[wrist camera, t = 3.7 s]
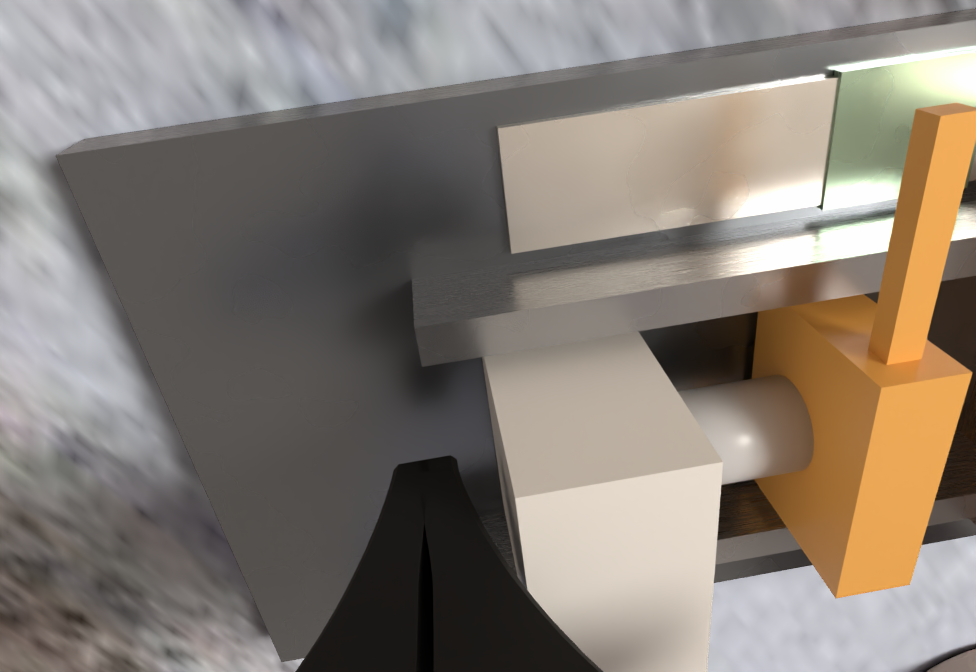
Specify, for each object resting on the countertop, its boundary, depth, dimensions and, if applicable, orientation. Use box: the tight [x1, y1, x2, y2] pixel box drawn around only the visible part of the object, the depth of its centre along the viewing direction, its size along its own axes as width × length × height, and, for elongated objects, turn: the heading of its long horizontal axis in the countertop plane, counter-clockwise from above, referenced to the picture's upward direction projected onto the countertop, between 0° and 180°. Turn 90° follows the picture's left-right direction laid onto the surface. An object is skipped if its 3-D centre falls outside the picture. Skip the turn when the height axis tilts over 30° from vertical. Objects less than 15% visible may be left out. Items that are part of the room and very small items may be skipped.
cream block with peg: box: [482, 331, 814, 672], centre depth 13 cm, size 6×5×5 cm
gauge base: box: [56, 8, 976, 662], centre depth 13 cm, size 21×14×7 cm, turn 97°
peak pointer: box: [752, 103, 976, 598], centre depth 12 cm, size 2×9×4 cm, turn 7°
